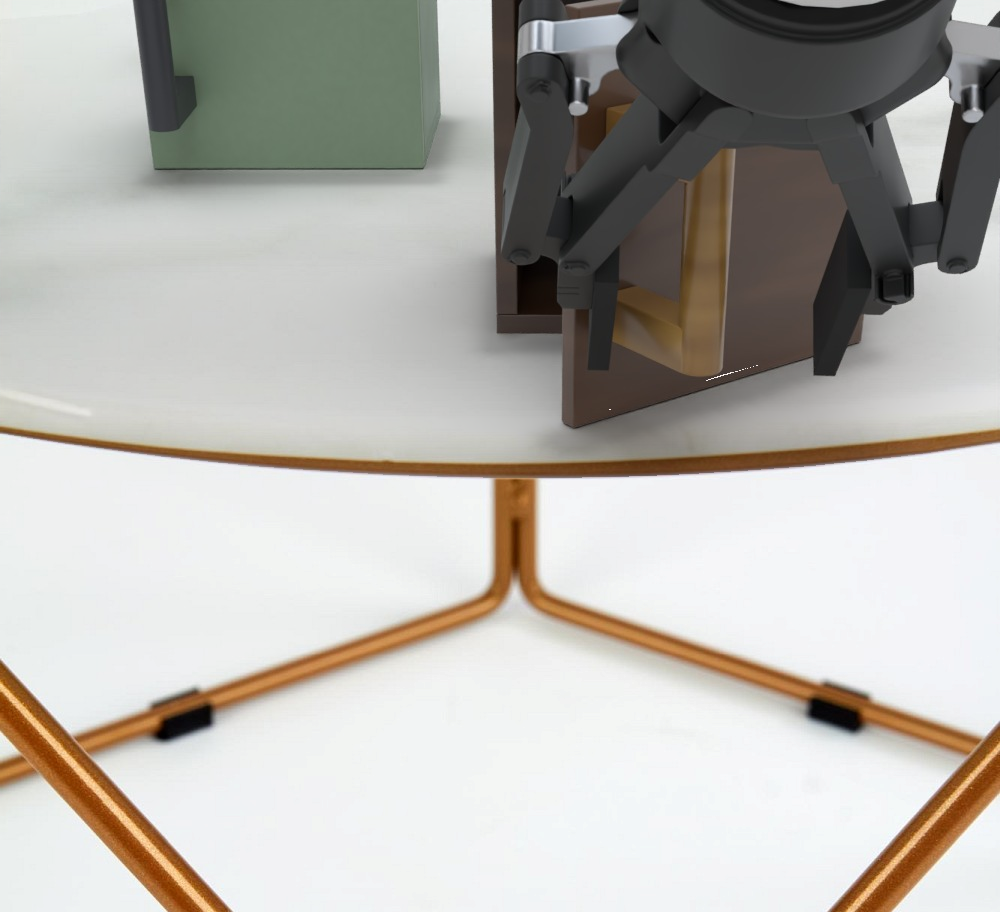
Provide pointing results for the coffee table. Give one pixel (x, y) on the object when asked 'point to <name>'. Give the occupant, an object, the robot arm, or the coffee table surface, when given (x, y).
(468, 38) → the coffee table surface
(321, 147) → the far door
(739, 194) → the near door
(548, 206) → the robot arm
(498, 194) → the near cabinet
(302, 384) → the coffee table surface
